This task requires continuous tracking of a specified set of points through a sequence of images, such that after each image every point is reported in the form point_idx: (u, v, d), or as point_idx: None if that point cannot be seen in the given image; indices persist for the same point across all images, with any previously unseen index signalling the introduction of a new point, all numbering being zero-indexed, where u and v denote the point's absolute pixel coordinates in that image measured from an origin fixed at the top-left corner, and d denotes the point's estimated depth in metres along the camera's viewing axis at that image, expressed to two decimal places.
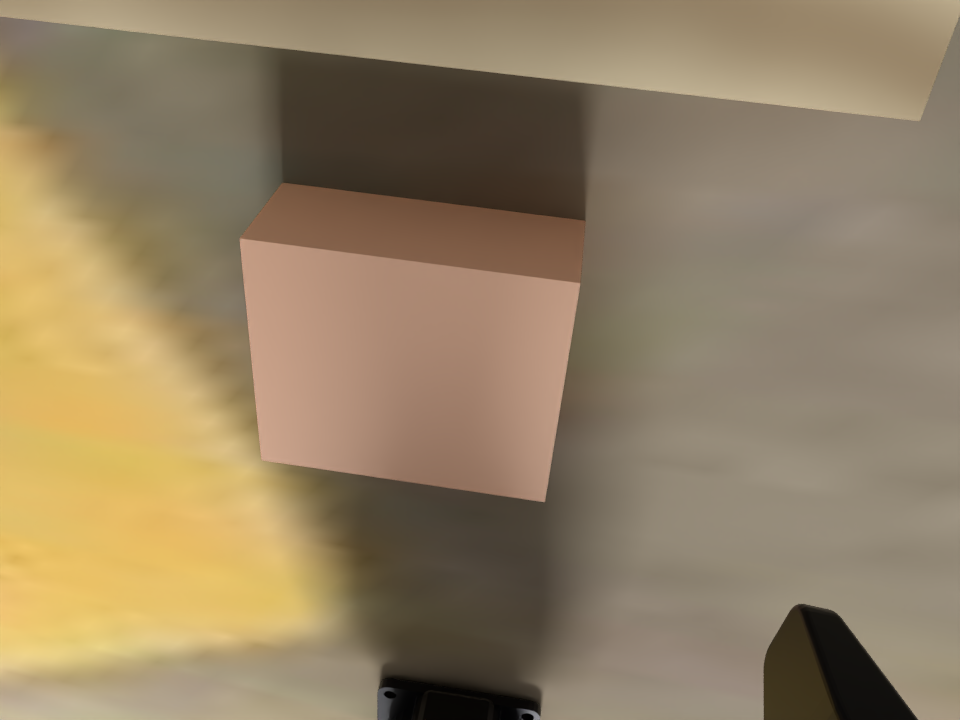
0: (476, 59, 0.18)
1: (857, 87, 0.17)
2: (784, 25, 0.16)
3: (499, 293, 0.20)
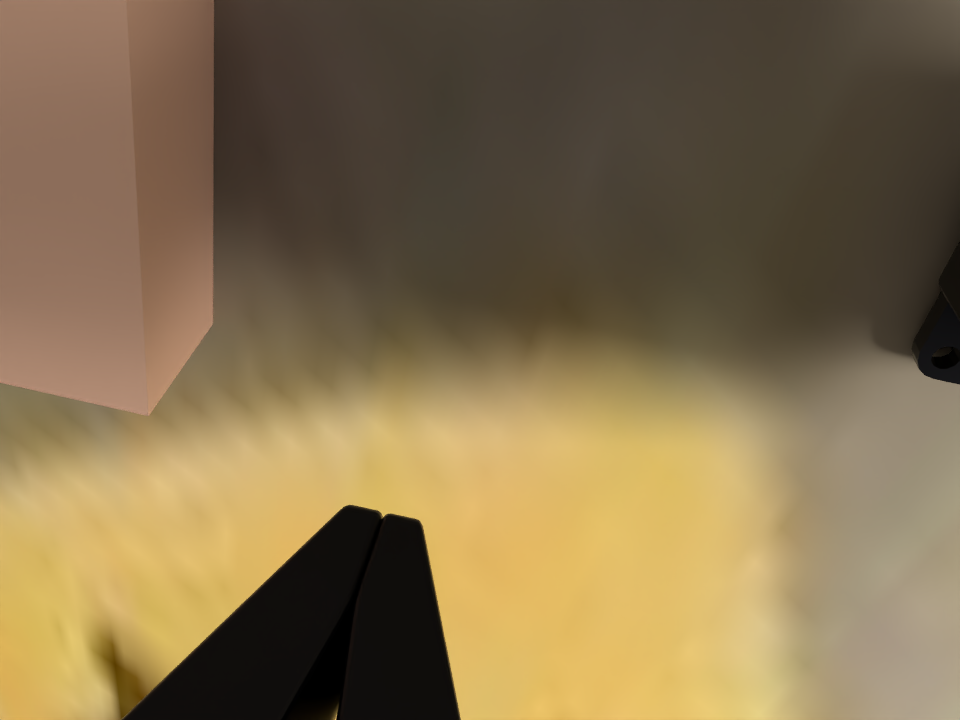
0: None
1: None
2: None
3: None
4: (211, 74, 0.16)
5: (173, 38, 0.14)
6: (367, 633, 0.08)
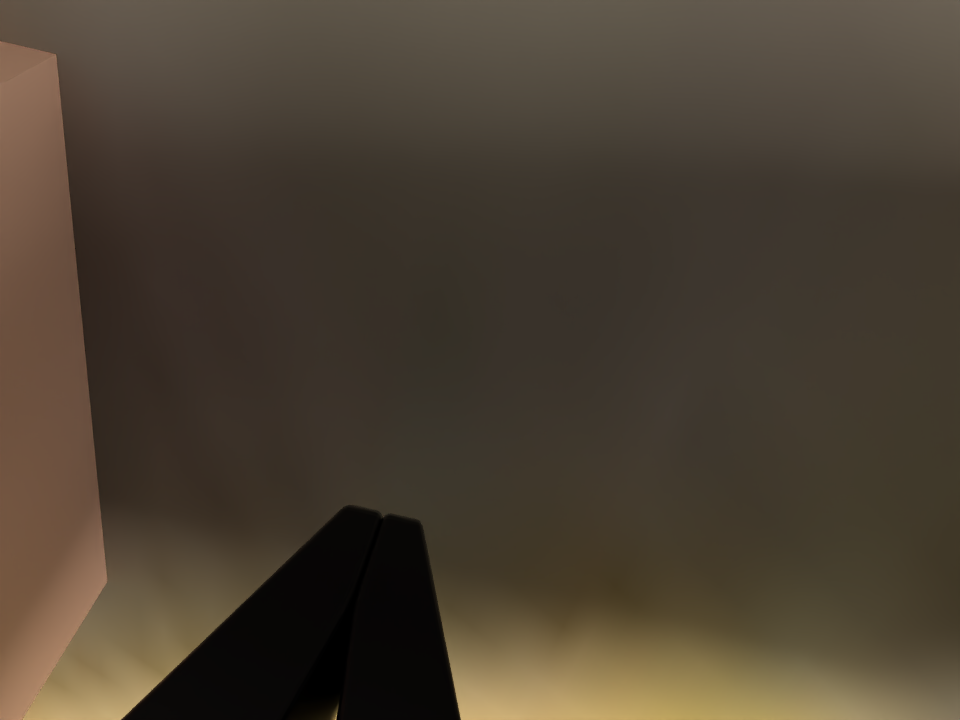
0: None
1: None
2: None
3: None
4: (73, 274, 0.10)
5: None
6: (367, 633, 0.08)
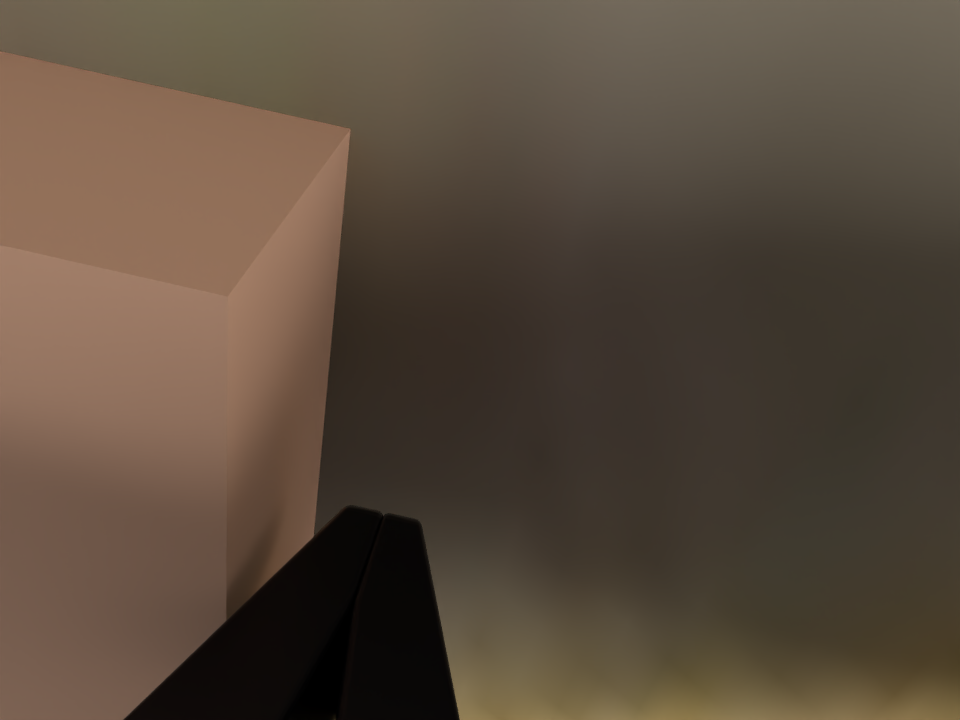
0: None
1: None
2: None
3: None
4: (328, 340, 0.10)
5: (288, 342, 0.08)
6: (366, 633, 0.08)
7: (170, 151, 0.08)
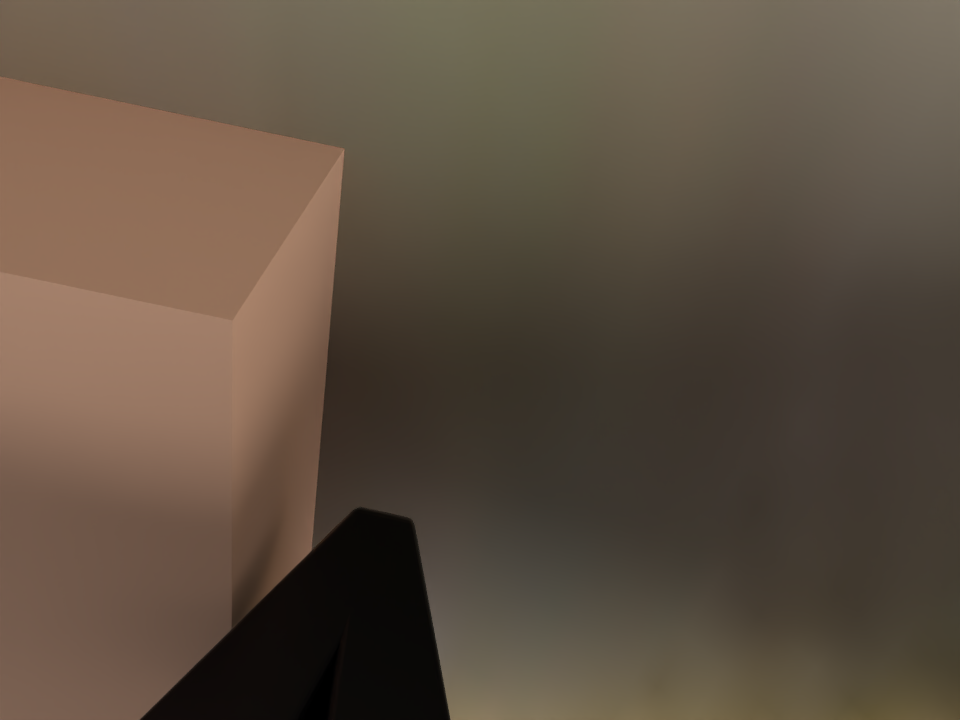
0: None
1: None
2: None
3: None
4: (326, 354, 0.10)
5: (288, 361, 0.08)
6: (357, 631, 0.08)
7: (168, 172, 0.08)
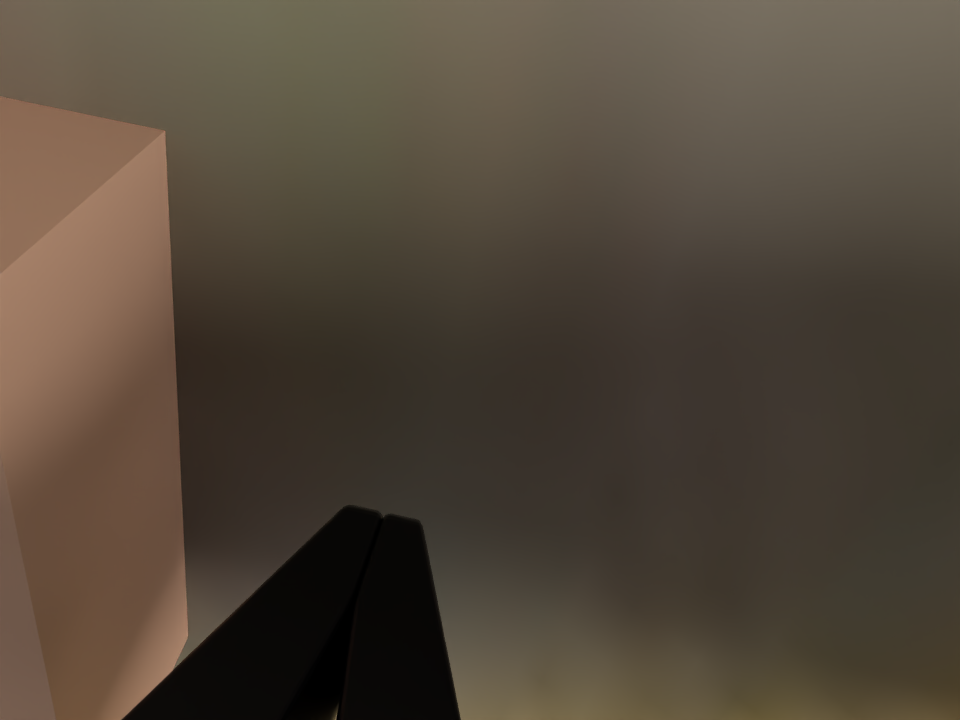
0: None
1: None
2: None
3: None
4: (171, 344, 0.10)
5: (96, 347, 0.08)
6: (367, 633, 0.08)
7: None
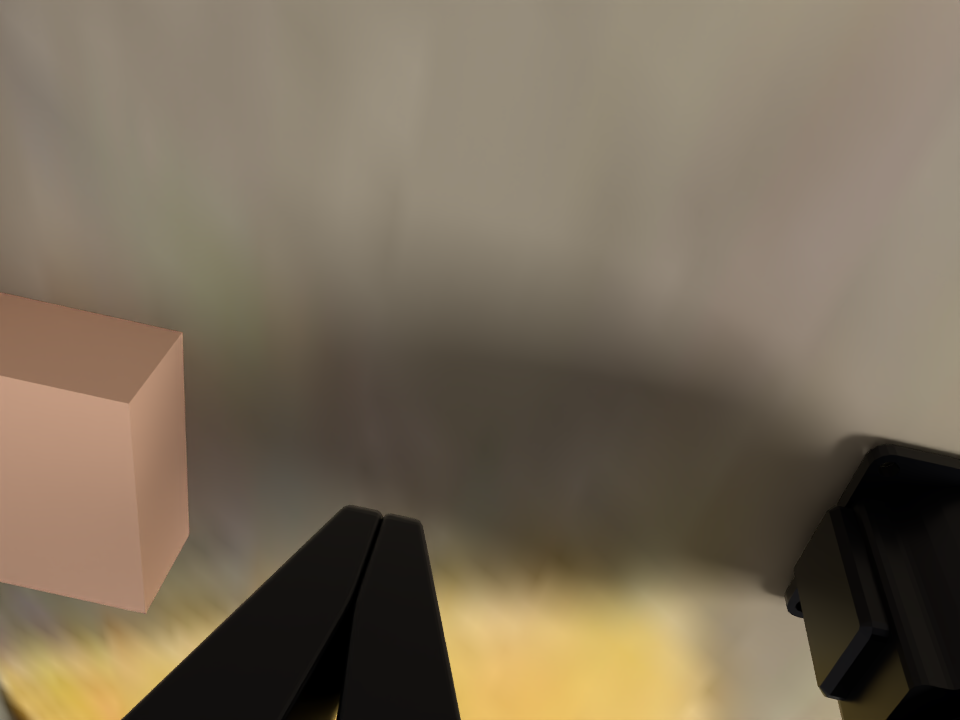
0: None
1: None
2: None
3: None
4: (184, 405, 0.25)
5: (158, 410, 0.23)
6: (367, 633, 0.08)
7: (115, 347, 0.23)
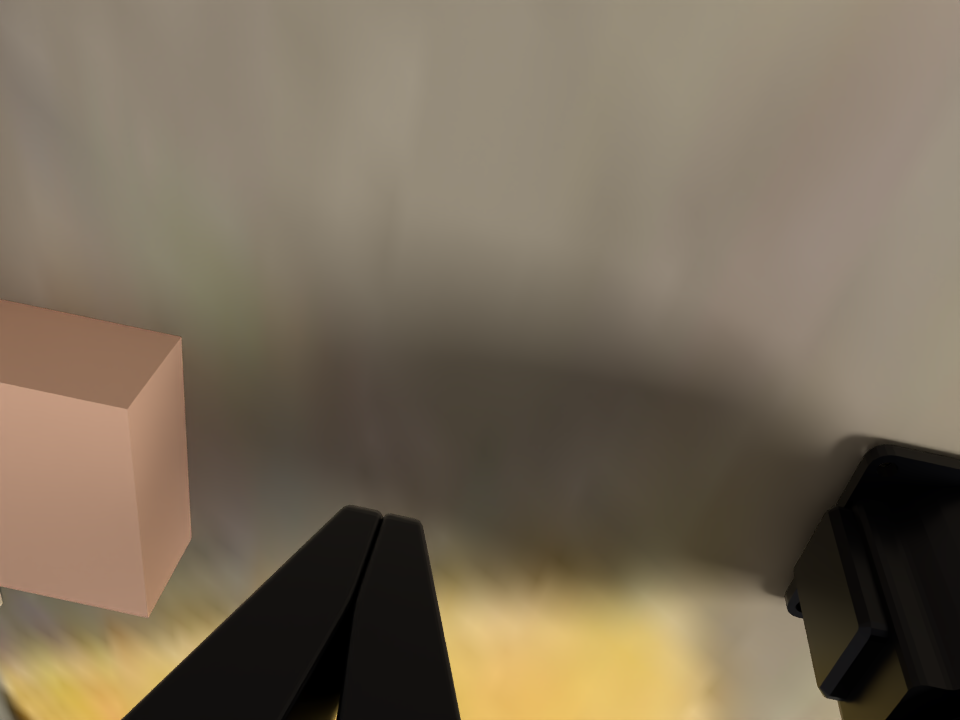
0: None
1: None
2: None
3: None
4: (183, 409, 0.25)
5: (157, 415, 0.23)
6: (367, 633, 0.08)
7: (114, 353, 0.23)
